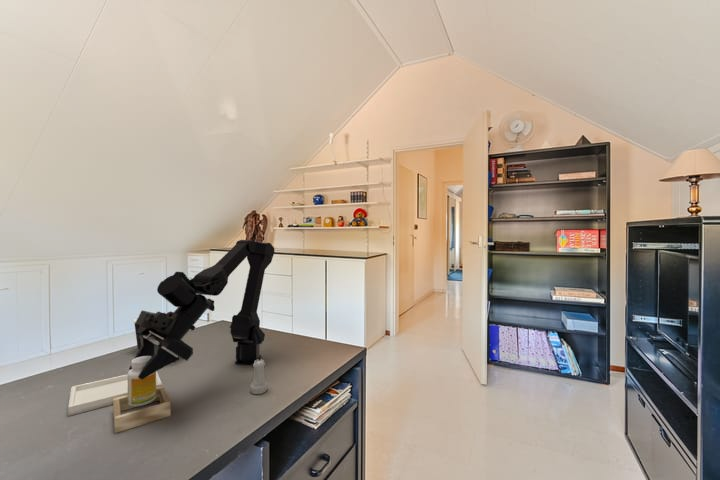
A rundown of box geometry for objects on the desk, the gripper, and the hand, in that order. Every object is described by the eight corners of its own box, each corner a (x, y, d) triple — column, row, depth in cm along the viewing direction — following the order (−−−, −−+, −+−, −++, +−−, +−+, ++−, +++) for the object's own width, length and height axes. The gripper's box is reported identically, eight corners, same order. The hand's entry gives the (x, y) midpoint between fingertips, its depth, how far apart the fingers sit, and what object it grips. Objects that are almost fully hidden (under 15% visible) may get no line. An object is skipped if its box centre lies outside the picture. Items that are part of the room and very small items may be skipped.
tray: (155, 374, 91) (155, 368, 91) (161, 391, 82) (162, 384, 82) (71, 394, 80) (71, 386, 80) (68, 416, 71) (68, 407, 71)
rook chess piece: (270, 388, 85) (271, 359, 85) (260, 396, 81) (261, 365, 81) (257, 385, 87) (257, 356, 86) (246, 393, 82) (246, 363, 82)
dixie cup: (161, 344, 115) (161, 314, 115) (159, 352, 108) (159, 320, 108) (135, 347, 111) (135, 317, 111) (131, 355, 104) (131, 323, 104)
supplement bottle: (161, 397, 74) (161, 357, 73) (136, 409, 69) (136, 365, 68) (147, 392, 76) (147, 352, 76) (122, 403, 71) (122, 361, 71)
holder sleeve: (163, 397, 79) (163, 385, 79) (170, 415, 72) (170, 402, 71) (113, 411, 73) (113, 398, 73) (114, 433, 65) (114, 418, 65)
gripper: (145, 291, 80) (90, 346, 72) (178, 303, 69) (117, 370, 61) (178, 315, 87) (131, 368, 78) (213, 330, 75) (162, 393, 67)
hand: (135, 374), depth 71 cm, fingers closed on supplement bottle, 5 cm apart
